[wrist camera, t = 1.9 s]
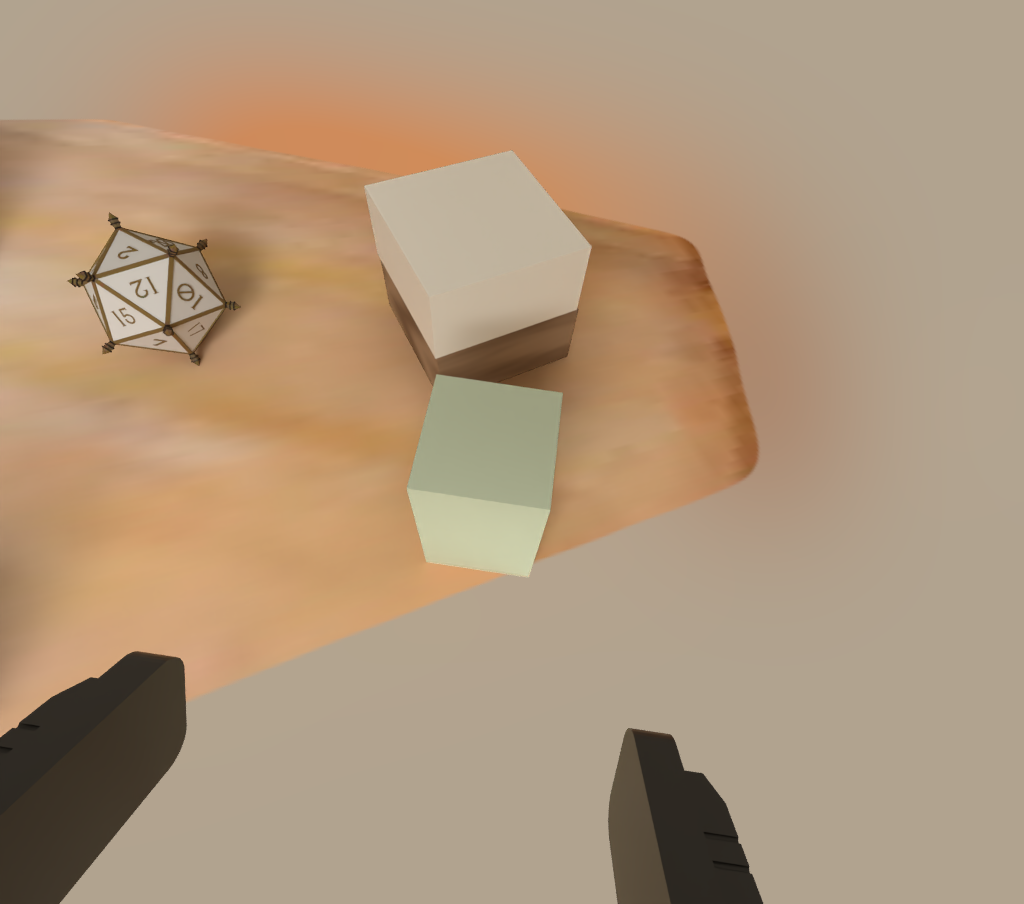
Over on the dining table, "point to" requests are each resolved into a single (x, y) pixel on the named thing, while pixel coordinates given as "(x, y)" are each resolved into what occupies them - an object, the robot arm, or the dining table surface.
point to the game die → (153, 292)
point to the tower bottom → (488, 346)
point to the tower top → (477, 250)
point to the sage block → (485, 474)
